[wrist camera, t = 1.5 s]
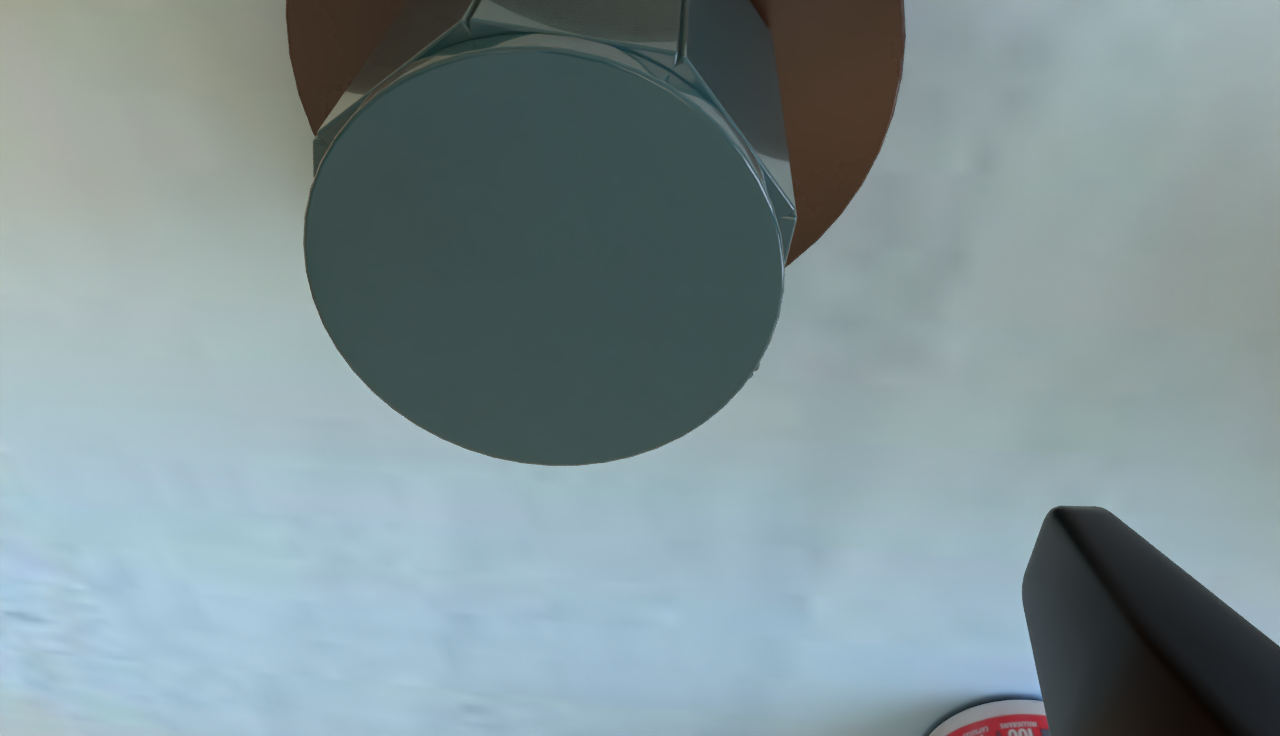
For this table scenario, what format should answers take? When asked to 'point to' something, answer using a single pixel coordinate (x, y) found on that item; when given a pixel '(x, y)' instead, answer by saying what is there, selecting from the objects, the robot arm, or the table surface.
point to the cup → (555, 220)
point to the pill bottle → (998, 720)
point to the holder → (806, 65)
